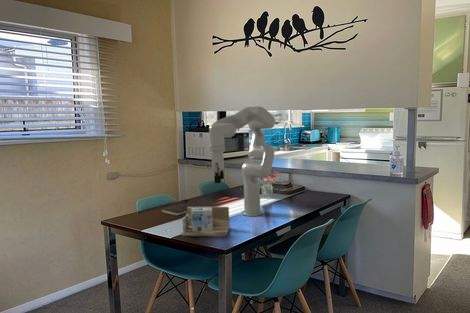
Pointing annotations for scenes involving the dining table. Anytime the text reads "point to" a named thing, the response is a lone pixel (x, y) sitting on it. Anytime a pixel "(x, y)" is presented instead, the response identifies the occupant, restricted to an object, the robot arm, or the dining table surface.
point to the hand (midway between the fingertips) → (219, 180)
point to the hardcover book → (180, 208)
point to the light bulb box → (202, 219)
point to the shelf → (219, 223)
